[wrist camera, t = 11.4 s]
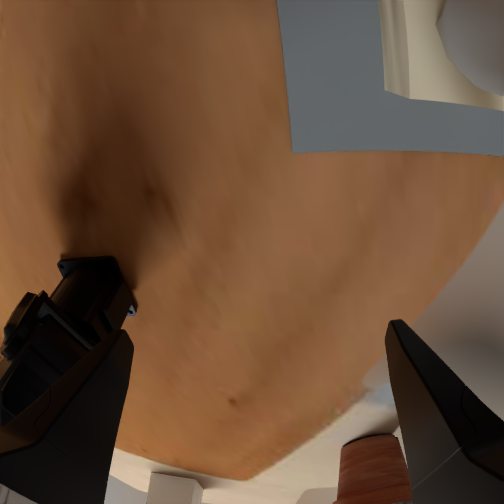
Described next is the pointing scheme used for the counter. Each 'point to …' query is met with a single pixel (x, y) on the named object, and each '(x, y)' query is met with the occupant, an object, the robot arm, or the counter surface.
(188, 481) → the milk
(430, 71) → the beech block
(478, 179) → the counter surface
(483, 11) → the salt shaker
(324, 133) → the mat
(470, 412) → the robot arm
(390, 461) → the potted plant
